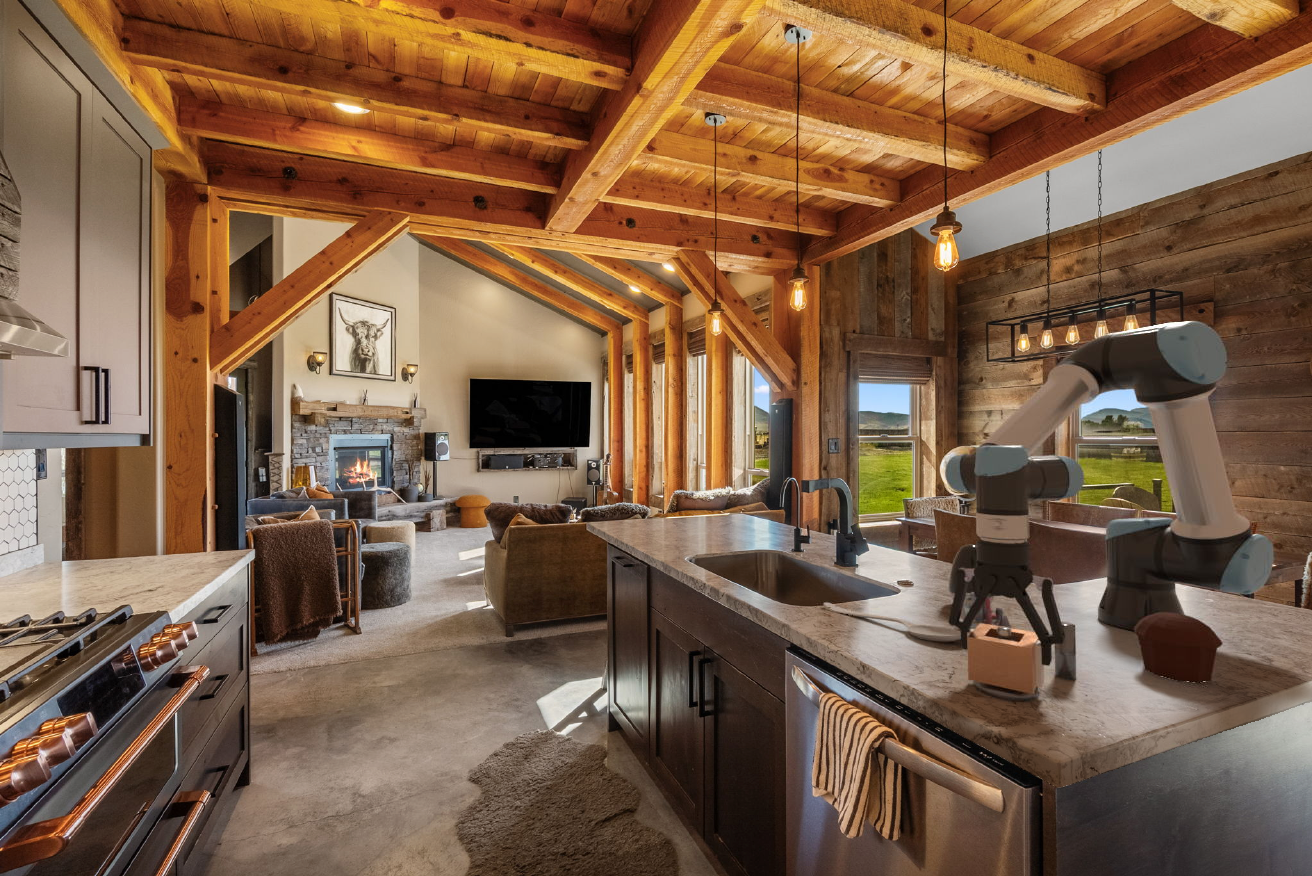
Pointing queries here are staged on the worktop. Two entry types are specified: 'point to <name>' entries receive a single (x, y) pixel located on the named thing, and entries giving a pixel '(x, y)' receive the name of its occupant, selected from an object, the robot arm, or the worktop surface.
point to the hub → (1001, 691)
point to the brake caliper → (984, 613)
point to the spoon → (908, 626)
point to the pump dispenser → (969, 561)
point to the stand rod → (1066, 654)
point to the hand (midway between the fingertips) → (1005, 676)
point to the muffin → (1177, 646)
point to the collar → (1002, 658)
